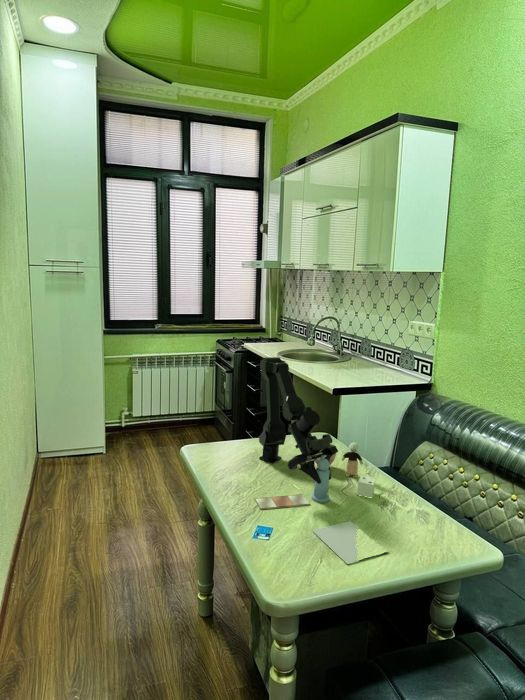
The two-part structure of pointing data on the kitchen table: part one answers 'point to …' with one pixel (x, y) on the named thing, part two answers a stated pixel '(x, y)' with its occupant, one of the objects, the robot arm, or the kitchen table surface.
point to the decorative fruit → (330, 458)
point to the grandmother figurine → (352, 460)
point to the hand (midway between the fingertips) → (325, 481)
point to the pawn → (322, 482)
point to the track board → (281, 502)
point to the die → (366, 486)
